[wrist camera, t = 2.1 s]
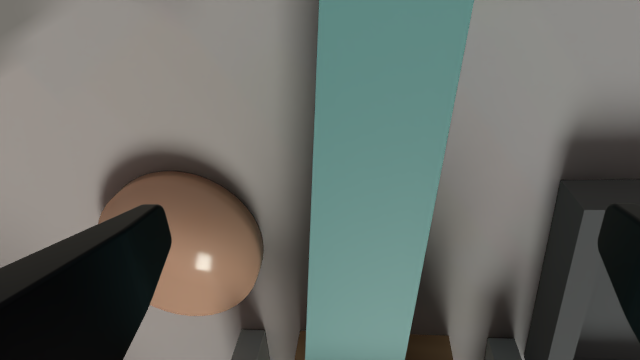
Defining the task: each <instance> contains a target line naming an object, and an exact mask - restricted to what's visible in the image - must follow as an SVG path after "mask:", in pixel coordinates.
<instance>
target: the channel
mask: <svg viewBox="0 0 640 360" xmlns="http://www.w3.org/2000/svg"><path fill="white" fill-rule="evenodd" d="M231 360H270V359H269V353H268V347H267V341H266V335H265V330H241V333H240V336H239V338H238V341H237V344H236V347H235V350H234V353H233V356H232V359H231ZM485 360H522V359H521V356H520V353H519V350H518V347H517V345H516V342H515V339H505V338H488V340H487V347H486V354H485Z"/></svg>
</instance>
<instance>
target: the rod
mask: <svg viewBox="0 0 640 360" xmlns="http://www.w3.org/2000/svg"><path fill="white" fill-rule="evenodd" d="M473 3H474V0H319V19H318V44H317V69H316V95H315V120H314V146H313V171H312V197H311V222H310V247H309V273H308V298H307V324H306V349H305V360H405V356H406V351H407V346H408V341H409V336H410V330H411V325H412V320H413V315H414V310H415V304H416V299H417V294H418V289H419V284H420V278H421V273H422V268H423V263H424V258H425V252H426V247H427V242H428V237H429V232H430V226H431V221H432V216H433V211H434V206H435V200H436V195H437V190H438V185H439V180H440V174H441V169H442V164H443V159H444V154H445V148H446V143H447V138H448V133H449V128H450V122H451V117H452V112H453V107H454V102H455V96H456V91H457V86H458V81H459V76H460V70H461V65H462V60H463V55H464V50H465V44H466V39H467V34H468V29H469V24H470V18H471V13H472V8H473Z"/></svg>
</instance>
